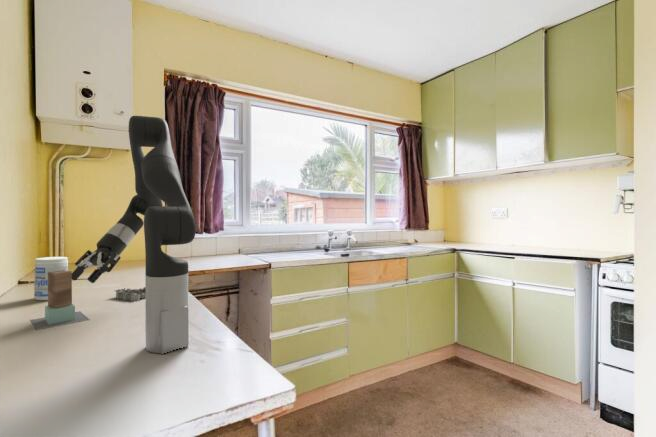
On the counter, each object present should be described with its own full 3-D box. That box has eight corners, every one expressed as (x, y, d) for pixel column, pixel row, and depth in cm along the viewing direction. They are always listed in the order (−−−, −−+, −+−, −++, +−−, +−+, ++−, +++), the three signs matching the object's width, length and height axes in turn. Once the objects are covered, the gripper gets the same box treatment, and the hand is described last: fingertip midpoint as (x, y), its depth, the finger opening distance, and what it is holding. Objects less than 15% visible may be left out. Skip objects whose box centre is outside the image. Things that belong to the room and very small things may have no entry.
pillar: (71, 305, 100) (71, 271, 99) (56, 308, 96) (56, 273, 96) (63, 303, 101) (63, 270, 101) (48, 307, 97) (47, 272, 97)
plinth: (75, 319, 99) (75, 306, 99) (48, 324, 94) (48, 310, 94) (70, 315, 103) (70, 302, 103) (45, 319, 98) (45, 306, 98)
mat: (90, 320, 99) (90, 319, 99) (36, 331, 90) (36, 329, 90) (80, 312, 107) (80, 311, 107) (30, 321, 98) (30, 319, 98)
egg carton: (151, 297, 127) (151, 286, 127) (133, 302, 120) (133, 291, 120) (130, 294, 131) (130, 284, 130) (112, 299, 124) (112, 288, 123)
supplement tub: (30, 302, 118) (30, 260, 118) (38, 296, 126) (38, 257, 126) (65, 299, 123) (65, 258, 122) (70, 293, 131) (70, 255, 131)
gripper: (94, 231, 114) (56, 271, 104) (123, 233, 109) (87, 275, 99) (109, 245, 119) (75, 284, 109) (138, 248, 114) (105, 289, 104)
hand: (80, 280), depth 104 cm, fingers open, 8 cm apart
